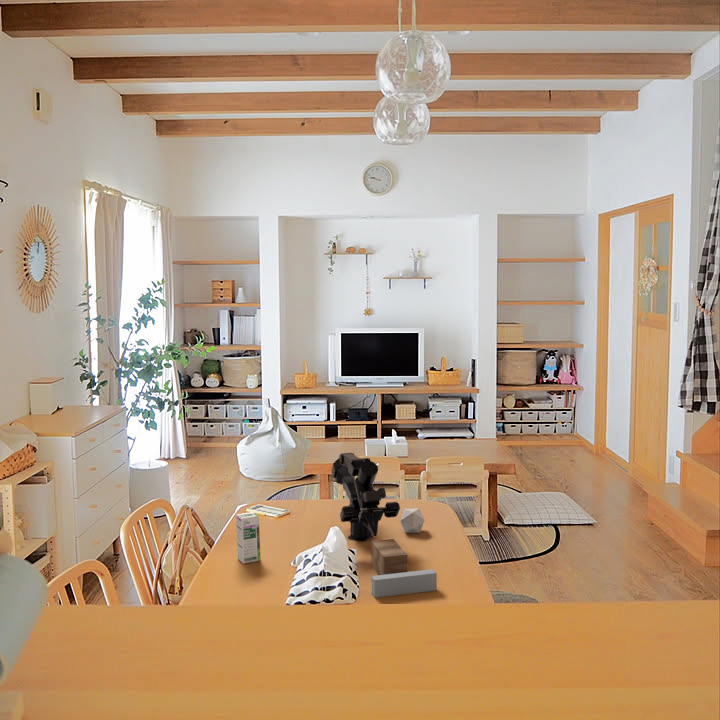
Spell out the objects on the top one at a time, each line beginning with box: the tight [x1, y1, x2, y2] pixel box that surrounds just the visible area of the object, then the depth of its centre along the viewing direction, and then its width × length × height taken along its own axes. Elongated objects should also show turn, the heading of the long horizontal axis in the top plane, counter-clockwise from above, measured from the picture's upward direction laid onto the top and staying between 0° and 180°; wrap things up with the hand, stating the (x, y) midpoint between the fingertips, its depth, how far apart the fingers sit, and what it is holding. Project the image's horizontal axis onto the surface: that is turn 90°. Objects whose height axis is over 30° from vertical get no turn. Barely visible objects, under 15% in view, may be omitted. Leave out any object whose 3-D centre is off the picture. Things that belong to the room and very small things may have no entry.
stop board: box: [371, 568, 438, 599], centre depth 213 cm, size 3×18×5 cm, turn 105°
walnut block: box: [370, 538, 409, 575], centre depth 227 cm, size 14×7×8 cm, turn 14°
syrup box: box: [235, 511, 261, 564], centre depth 239 cm, size 6×6×14 cm
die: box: [399, 507, 426, 534], centre depth 264 cm, size 8×9×10 cm
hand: (375, 535), depth 240 cm, fingers closed
